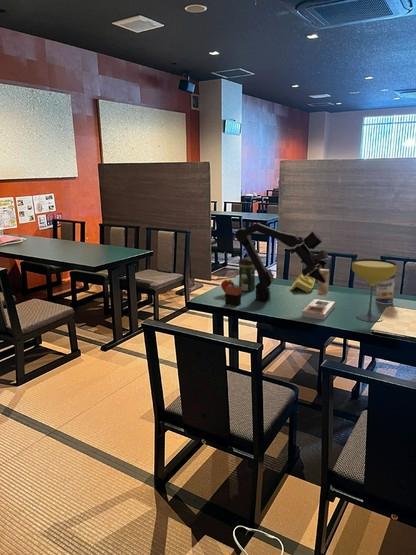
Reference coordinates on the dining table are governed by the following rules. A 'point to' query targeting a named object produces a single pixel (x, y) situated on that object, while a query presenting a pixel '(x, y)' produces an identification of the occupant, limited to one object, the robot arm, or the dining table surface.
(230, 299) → the battery
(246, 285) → the coffee jar
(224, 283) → the strawberry
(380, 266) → the cocktail glass
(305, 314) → the white flat box
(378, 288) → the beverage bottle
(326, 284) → the peg
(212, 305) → the dining table surface
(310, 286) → the plastic component
